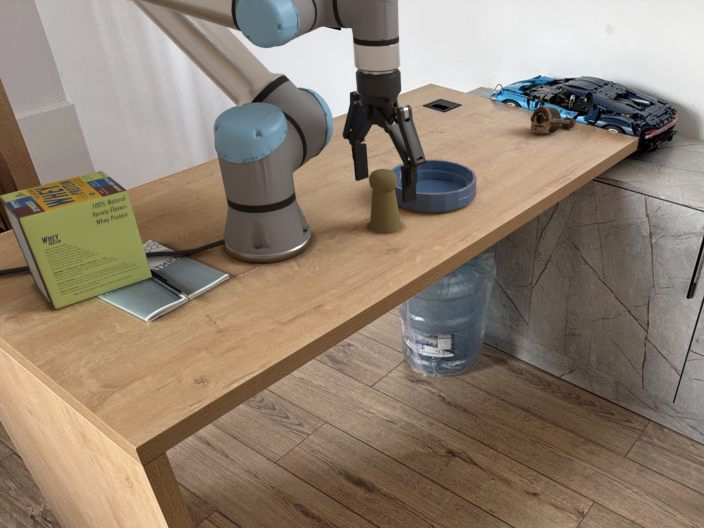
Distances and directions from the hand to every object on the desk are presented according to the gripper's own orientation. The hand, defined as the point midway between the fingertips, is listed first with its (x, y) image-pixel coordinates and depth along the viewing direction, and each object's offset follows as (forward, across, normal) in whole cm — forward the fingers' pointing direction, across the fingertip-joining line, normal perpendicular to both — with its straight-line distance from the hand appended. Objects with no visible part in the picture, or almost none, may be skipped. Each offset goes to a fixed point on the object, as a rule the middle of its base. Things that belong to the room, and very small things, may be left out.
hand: (385, 189), depth 125 cm
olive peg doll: (+8, 0, 0) cm, 8 cm away
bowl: (+8, +4, -16) cm, 18 cm away
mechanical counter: (+8, +12, -67) cm, 68 cm away
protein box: (+7, +17, +48) cm, 52 cm away
